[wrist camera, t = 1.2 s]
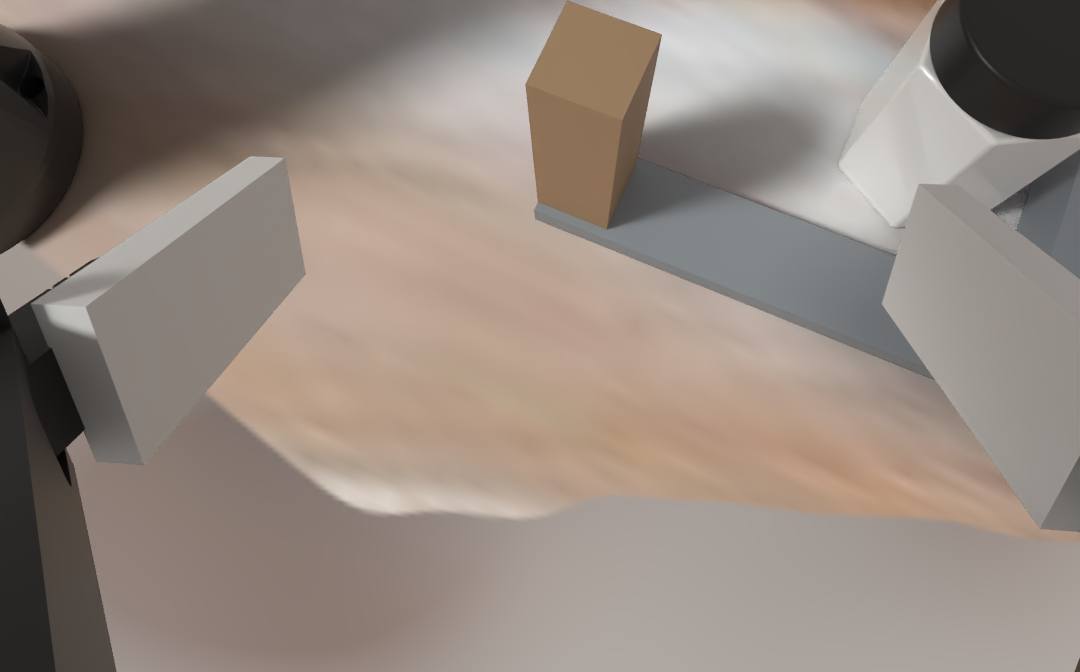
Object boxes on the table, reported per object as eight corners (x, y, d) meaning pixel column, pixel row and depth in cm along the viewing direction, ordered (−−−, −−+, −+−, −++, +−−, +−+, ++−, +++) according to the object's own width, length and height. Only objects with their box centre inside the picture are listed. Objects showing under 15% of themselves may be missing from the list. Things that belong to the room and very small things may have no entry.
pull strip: (535, 218, 38) (520, 95, 27) (654, -32, 42) (687, -242, 30) (1003, 407, 35) (1225, 362, 23) (1092, 119, 38) (1326, -50, 27)
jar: (1031, 179, 38) (1238, 37, 26) (917, 262, 37) (1077, 154, 25) (918, 62, 40) (1064, -119, 28) (807, 139, 39) (909, -14, 27)
